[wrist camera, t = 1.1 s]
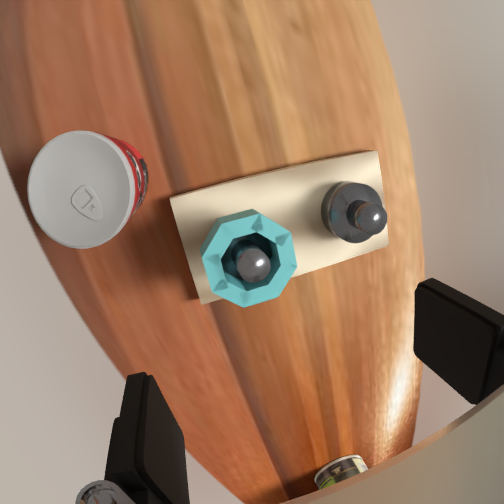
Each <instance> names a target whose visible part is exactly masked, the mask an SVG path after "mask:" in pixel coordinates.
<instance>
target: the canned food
mask: <svg viewBox="0 0 504 504" xmlns="http://www.w3.org/2000/svg"><path fill="white" fill-rule="evenodd" d="M148 184H149V176H148V170H147V166H146V164H145V161H144V159H143V158H142V156H141V155H140V153H139V152H138V151H137V150H136V149H135V148H134V147H133V146H131V145H130V144H128V143H126V142H124V141H121V140H118V139H115V138H112V137H109V136H106V135H103V134H100V133H97V132H92V131H83V130H81V131H72V132H67V133H64V134H61V135H59V136H57V137H55V138H54V139H52V140H50V141H49V142H48V143H47V144H46V145H45V146H44V147H43V148H42V149H41V150H40V152H39V153H38V154H37V156H36V157H35V159H34V162H33V164H32V166H31V169H30V173H29V177H28V186H27V192H28V201H29V205H30V208H31V212H32V214H33V216H34V218H35V220H36V222H37V223H38V225H39V226H40V227H41V229H42V230H43V231H44V232H45V233H46V234H47V235H48V236H49V237H50V238H52V239H53V240H55V241H56V242H58V243H60V244H62V245H65V246H67V247H71V248H77V249H84V248H92V247H96V246H99V245H101V244H103V243H105V242H107V241H108V240H110V239H112V238H113V237H114V236H115V235H116V234H118V233H119V232H120V230H121V229H122V228H123V227H124V226H125V225H126V223H127V222H128V221H129V220H130V218H131V217H132V216H133V214H134V213H135V212H136V211H137V209H138V208H139V207H140V205H141V204H142V202H143V201H144V199H145V197H146V194H147V191H148Z"/></svg>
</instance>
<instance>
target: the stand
mask: <svg viewBox="0 0 504 504" xmlns="http://www.w3.org/2000/svg"><path fill="white" fill-rule="evenodd" d="M271 258H272V252H271V247H270V243H269V239H268V238H266V237H264V236H263V235H261V234H259V233H257V232H255V233H252V234H248V235H244V236H241V237H237V238H234V239H233V240H232V241H231V243H230V245H229V246H228V248H227V250H226V251H225V253H224V255H223V256H222V258H221V263H222V267H223V271H224V272H225V273H227V274H229V275H231V276H233V277H235V278H237V279H239V280H245V281H247V282H251V283H255V282H259V281H261V280H263V279H264V278H266V276H267V275H268V274H269V271H270V267H271V264H270V259H271Z"/></svg>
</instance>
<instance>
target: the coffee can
mask: <svg viewBox="0 0 504 504" xmlns="http://www.w3.org/2000/svg"><path fill="white" fill-rule="evenodd" d="M366 470H368V468H367V466H366V465H365V463H364V462H363V460H362V458H361V457H360V456H358V455H349V456H344V457H341V458H339V459H336V460H334V461H332V462H330V463H329V464H327V465H326V466H324V467H323V468H322V469H321V470H319V471H318V473H317V474H316V476H315V478H314V481H315V483H316V484H317V486H318V489H319V490H321V489H323V488H326V487H328V486H331V485H334V484H336V483H338V482H341V481H343V480H346V479H348V478H350V477H353V476H355V475H357V474H359V473H362V472H364V471H366Z"/></svg>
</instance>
